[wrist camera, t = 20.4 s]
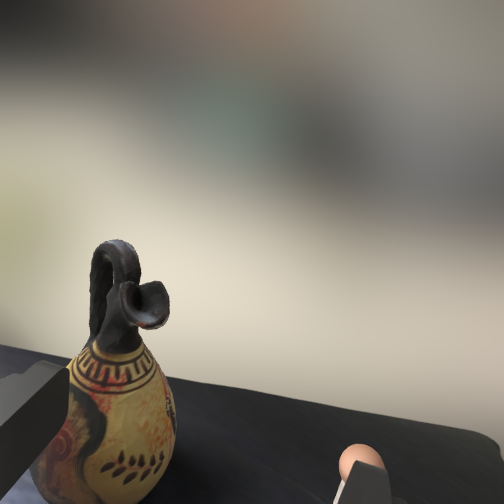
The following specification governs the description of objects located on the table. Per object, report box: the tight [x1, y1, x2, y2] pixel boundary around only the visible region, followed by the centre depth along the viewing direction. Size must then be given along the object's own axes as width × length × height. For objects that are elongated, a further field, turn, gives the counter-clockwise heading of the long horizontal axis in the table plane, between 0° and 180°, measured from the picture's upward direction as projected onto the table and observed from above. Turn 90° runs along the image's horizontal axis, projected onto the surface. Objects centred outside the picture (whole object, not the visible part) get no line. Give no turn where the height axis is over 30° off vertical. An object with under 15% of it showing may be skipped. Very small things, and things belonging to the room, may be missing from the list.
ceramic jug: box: [29, 239, 177, 504], centre depth 43 cm, size 17×15×30 cm
